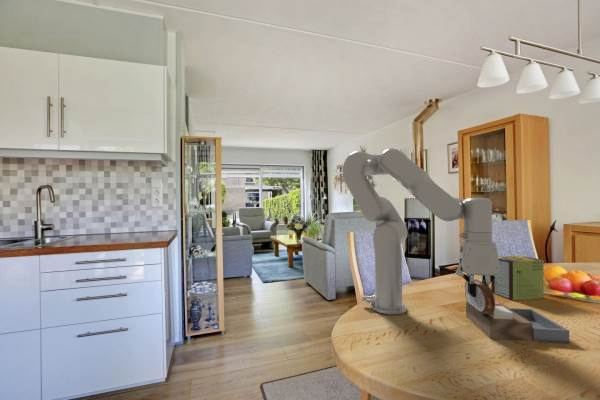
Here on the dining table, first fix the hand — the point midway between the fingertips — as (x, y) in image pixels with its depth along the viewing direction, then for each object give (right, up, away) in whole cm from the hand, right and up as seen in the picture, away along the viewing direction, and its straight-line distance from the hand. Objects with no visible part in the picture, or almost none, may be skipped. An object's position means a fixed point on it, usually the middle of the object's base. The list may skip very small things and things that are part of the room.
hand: (478, 295), depth 91 cm
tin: (0, -4, 0) cm, 4 cm away
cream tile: (+4, -5, -4) cm, 7 cm away
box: (+15, -10, -2) cm, 18 cm away
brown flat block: (+5, -10, -1) cm, 11 cm away
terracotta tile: (+5, -5, +3) cm, 7 cm away
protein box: (+34, -10, +30) cm, 46 cm away
